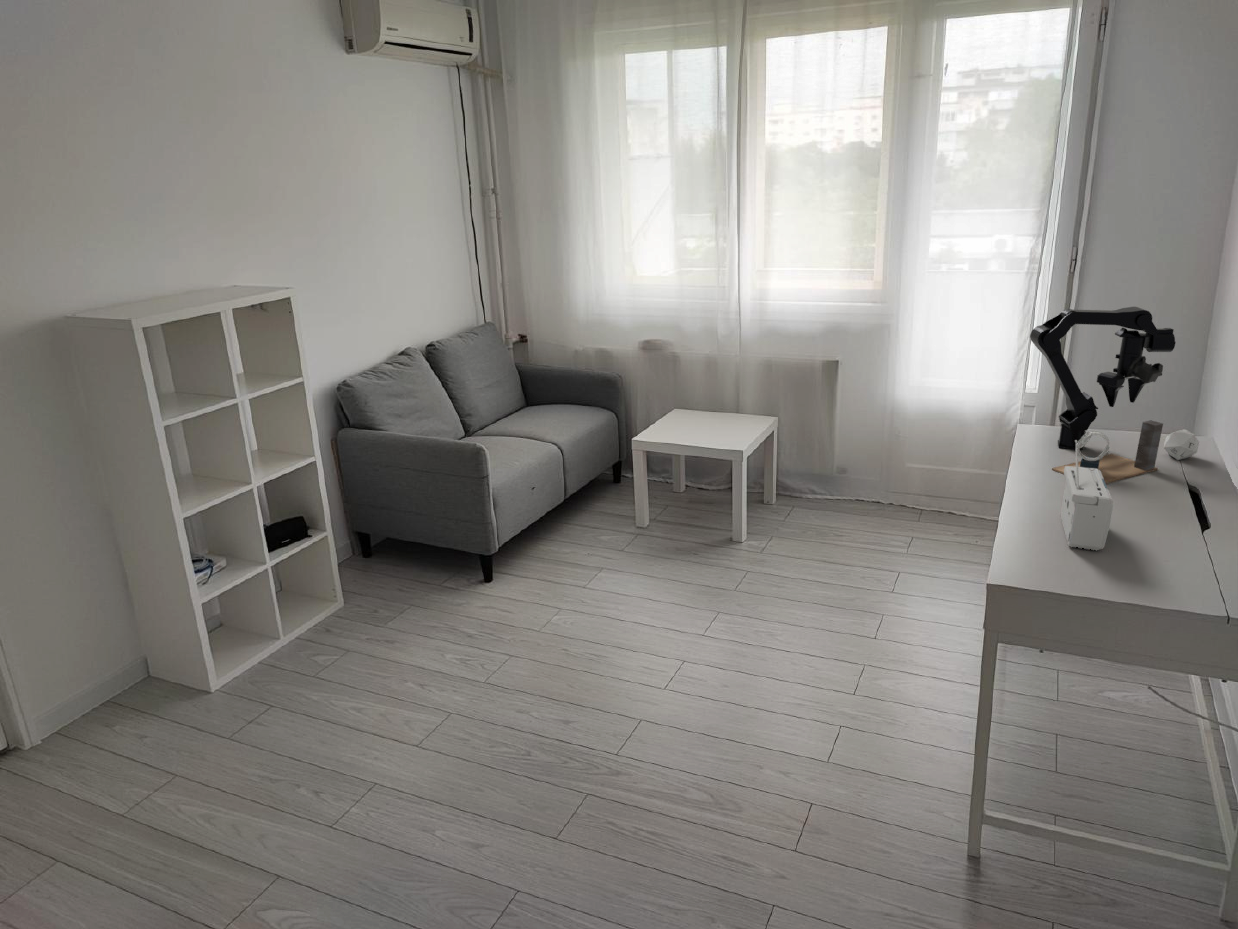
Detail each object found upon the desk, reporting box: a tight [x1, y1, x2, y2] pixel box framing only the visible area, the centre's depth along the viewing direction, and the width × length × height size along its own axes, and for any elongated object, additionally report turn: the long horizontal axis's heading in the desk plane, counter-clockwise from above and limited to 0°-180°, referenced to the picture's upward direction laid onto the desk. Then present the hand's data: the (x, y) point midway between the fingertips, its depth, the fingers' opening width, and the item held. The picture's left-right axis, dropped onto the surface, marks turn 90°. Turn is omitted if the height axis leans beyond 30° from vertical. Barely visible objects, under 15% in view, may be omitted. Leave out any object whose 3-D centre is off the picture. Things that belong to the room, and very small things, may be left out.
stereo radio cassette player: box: [1060, 440, 1114, 551], centre depth 204 cm, size 21×8×20 cm, turn 160°
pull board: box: [1051, 419, 1164, 484], centre depth 244 cm, size 14×25×14 cm, turn 117°
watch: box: [1077, 430, 1110, 469], centre depth 243 cm, size 6×8×11 cm
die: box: [1162, 428, 1200, 461], centre depth 254 cm, size 8×9×10 cm
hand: (1121, 404), depth 260 cm, fingers open, 9 cm apart
